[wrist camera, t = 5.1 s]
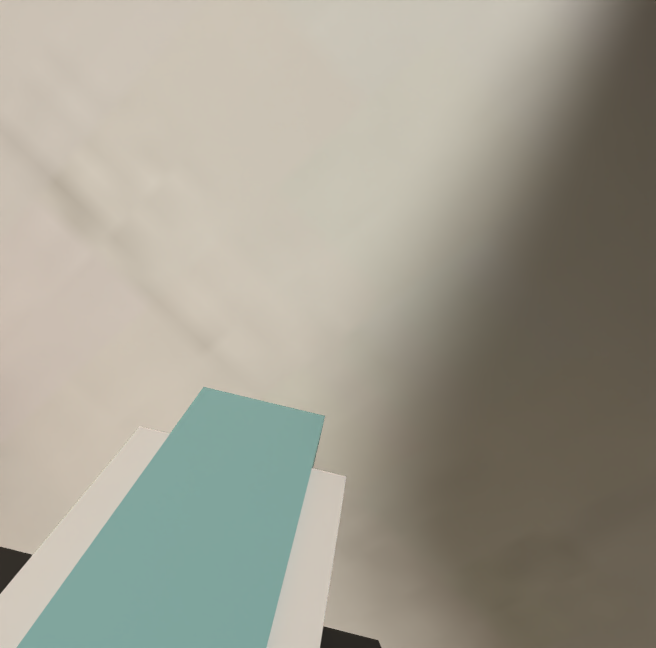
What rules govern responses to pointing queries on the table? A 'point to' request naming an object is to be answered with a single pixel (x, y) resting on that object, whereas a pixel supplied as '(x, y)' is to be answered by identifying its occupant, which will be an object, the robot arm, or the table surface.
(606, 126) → the table surface
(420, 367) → the table surface
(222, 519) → the dowel
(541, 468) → the table surface
